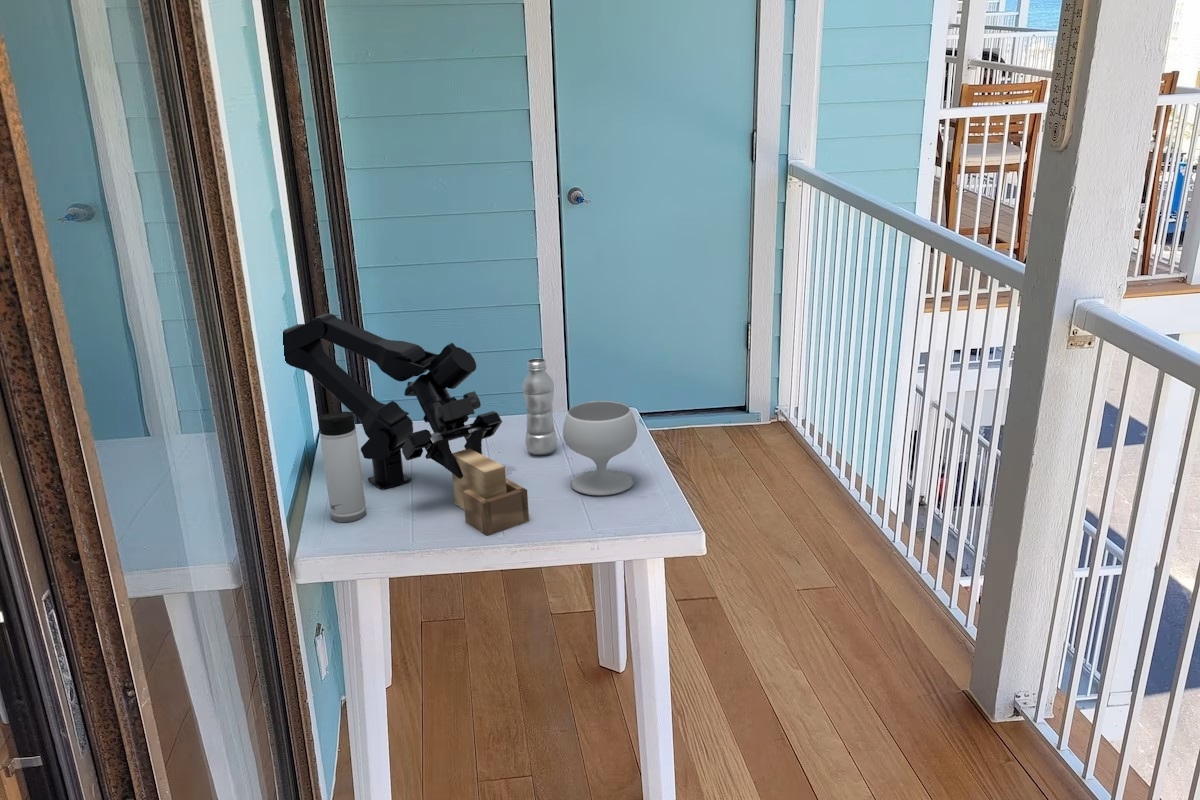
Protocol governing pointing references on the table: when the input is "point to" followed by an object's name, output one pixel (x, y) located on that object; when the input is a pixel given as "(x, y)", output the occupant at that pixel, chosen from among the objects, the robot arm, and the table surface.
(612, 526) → the table surface
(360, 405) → the robot arm
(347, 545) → the table surface
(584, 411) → the chalice
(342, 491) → the travel mug
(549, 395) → the plastic bottle
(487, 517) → the end cap
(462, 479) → the tan wooden block
